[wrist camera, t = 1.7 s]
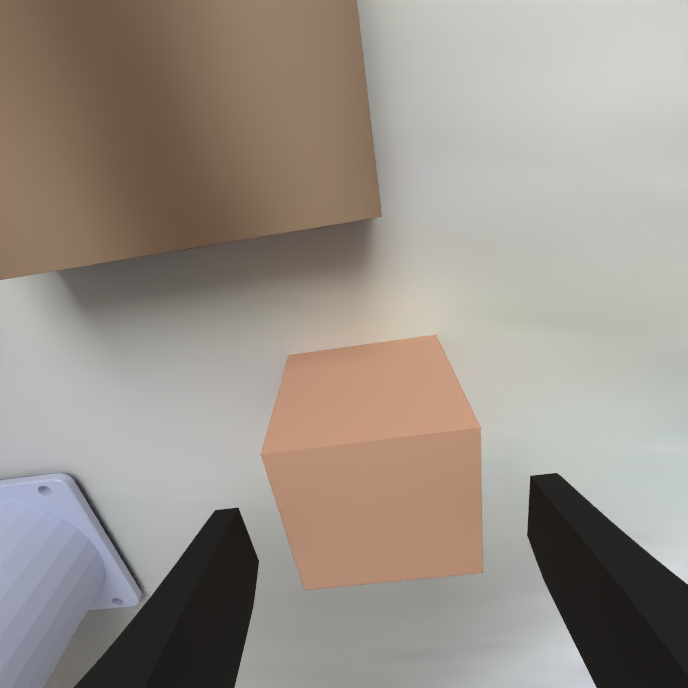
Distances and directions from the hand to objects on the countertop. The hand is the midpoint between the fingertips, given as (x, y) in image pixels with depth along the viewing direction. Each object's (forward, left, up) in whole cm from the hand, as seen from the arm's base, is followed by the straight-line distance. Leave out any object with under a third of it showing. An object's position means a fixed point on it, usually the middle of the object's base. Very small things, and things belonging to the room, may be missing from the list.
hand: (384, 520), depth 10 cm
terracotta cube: (0, 0, -5) cm, 5 cm away
